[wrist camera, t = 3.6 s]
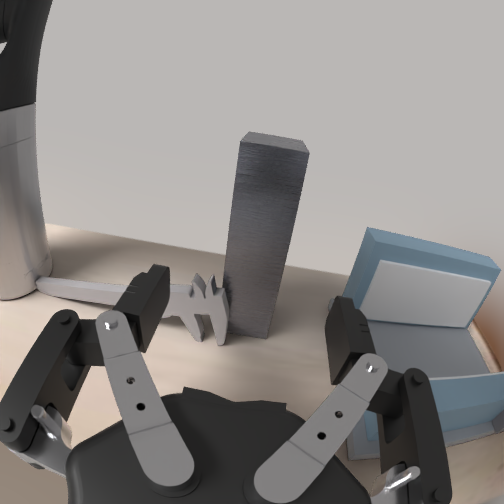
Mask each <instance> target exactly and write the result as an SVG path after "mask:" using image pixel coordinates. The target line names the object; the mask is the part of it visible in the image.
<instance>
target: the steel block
mask: <svg viewBox="0 0 504 504" xmlns="http://www.w3.org/2000/svg"><path fill="white" fill-rule="evenodd" d="M308 158H309V151H308V149H307V148H306V146H305V144H304V143H303V141H301V140H296V139H290V138H285V137H279V136H274V135H268V134H261V133H255V132H248V133H247V134H246V135H245V136H244V138H243V139H242V140H241V141H240V147H239V154H238V162H237V170H236V177H235V184H234V192H233V200H232V209H231V216H230V224H229V233H228V241H227V250H226V259H225V267H224V277H223V286H222V288H225V292H226V297H227V301H228V305H229V310H230V311H229V320H228V328H227V333H232V334H238V335H244V336H250V337H256V338H263V339H266V337H267V333H268V330H269V326H270V322H271V318H272V314H273V310H274V306H275V302H276V298H277V294H278V290H279V286H280V282H281V278H282V274H283V270H284V266H285V262H286V257H287V253H288V249H289V245H290V240H291V236H292V232H293V227H294V223H295V218H296V214H297V210H298V205H299V200H300V196H301V191H302V187H303V182H304V177H305V173H306V168H307V163H308Z"/></svg>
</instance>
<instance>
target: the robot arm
mask: <svg viewBox="0 0 504 504" xmlns="http://www.w3.org/2000/svg"><path fill="white" fill-rule="evenodd" d="M52 1H53V0H0V43H4V42H7V44H6V46H5V48H4V50H3V51H2V53H1V54H0V299H1V300H8V299H14V298H18V297H21V296H24V295H26V294H28V293H30V292H32V291H33V290H35V289H36V281H37V280H38V279H39V278H40V277H41V276H43V277H49V275H50V273H51V271H52V267H53V264H52V259H51V254H50V250H49V245H48V240H47V235H46V229H45V223H44V217H43V212H42V204H41V197H40V189H39V180H38V169H37V157H36V156H37V155H36V130H35V113H36V111H35V110H36V109H35V108H36V104H35V103H34V102H36V87H37V74H38V64H39V56H40V49H41V44H42V39H43V34H44V30H45V25H46V22H47V18H48V15H49V11H50V8H51V4H52ZM169 298H170V269H169V267H167V266H162V265H157V264H153V265H152V267H151V268H150V270H149V271H148V273H144V272H142V273H140V274H138V275H137V276H135V277H134V278H133V280H132V281H131V283H130V284H129V286H128V287H127V288H126V291H124V293H123V294H122V296H121V297H120V299H119V300H118V302H117V303H116V305H115V306H114V308H113V309H112V310H111V311H106V312H104V313H102V314H100V315H99V316H98V317H97V319H93V320H92V319H79V317H78V314H77V313H76V312H75V311H73V310H69V309H64V310H60V311H58V312H56V313H55V314H54V315H53V316H52V318H51V319H50V320H49V322H48V323H47V325H46V326H45V328H44V329H43V331H42V332H41V334H40V335H39V337H38V338H37V340H36V342H35V343H34V345H33V346H32V348H31V349H30V351H29V353H28V354H27V356H26V358H25V359H24V361H23V363H22V364H21V366H20V368H19V369H18V371H17V373H16V374H15V376H14V378H13V380H12V382H11V383H10V385H9V387H8V389H7V391H6V393H5V395H4V396H3V398H2V400H1V402H0V441H1V442H2V443H4V444H5V445H6V446H7V448H8V449H9V450H11V451H12V452H13V453H14V454H16V455H17V456H18V457H20V458H21V459H22V460H24V461H25V462H27V463H29V464H30V465H32V466H33V467H35V468H37V469H45V468H46V469H48V470H50V471H52V472H54V473H56V474H58V475H60V476H63V477H65V478H66V480H67V485H68V504H449V503H450V501H451V499H452V487H451V479H450V472H449V466H448V460H447V454H446V448H445V443H444V438H443V433H442V429H441V424H440V420H439V415H438V411H437V407H436V403H435V399H434V396H433V392H432V388H431V385H430V381H429V378H428V376H427V375H426V374H425V373H424V372H423V371H422V370H420V369H417V368H409V369H407V370H406V371H405V373H404V374H403V373H399V372H396V371H393V370H391V369H388V366H387V364H386V362H385V361H384V360H383V359H382V358H381V357H380V356H378V355H377V354H376V350H375V347H374V343H373V339H372V336H371V333H370V329H369V327H368V322H367V319H366V316H365V315H364V314H363V313H362V311H361V310H360V309H355V306H354V302H353V299H352V298H349V297H342V296H336V298H335V300H334V302H333V305H332V307H331V310H330V312H329V315H328V317H327V320H326V324H325V336H326V344H327V351H328V360H329V368H330V377H331V385H337V386H336V388H335V389H334V390H333V391H332V393H331V394H330V395H329V396H328V397H327V398H326V400H325V401H324V402H323V403H322V404H321V405H320V407H319V408H318V409H317V410H316V411H315V412H314V413H313V415H312V416H311V417H310V418H309V419H308V420H307V421H305V420H304V419H302V418H301V417H299V416H298V415H296V414H294V413H292V412H290V411H287V410H286V403H279V402H270V401H262V400H260V401H247V402H233V401H230V400H227V399H225V398H222V397H220V396H218V395H215V394H213V393H211V392H207V391H202V390H198V389H193V388H188V387H184V388H183V392H182V393H176V394H169V395H165V396H162V397H160V396H159V394H158V392H157V389H156V387H155V385H154V383H153V380H152V378H151V376H150V373H149V371H148V369H147V366H146V364H145V361H144V359H143V357H142V354H141V352H143V353H146V350H147V348H148V346H149V344H150V342H151V339H152V337H153V335H154V333H155V331H156V329H157V326H158V324H159V322H160V320H161V318H162V316H163V314H164V311H165V309H166V307H167V305H168V302H169ZM91 366H105V367H106V371H107V374H108V378H109V381H110V384H111V387H112V391H113V394H114V397H115V400H116V403H117V406H118V408H119V411H120V414H121V417H122V420H120V421H118V422H117V423H115V424H113V425H111V426H110V427H108V428H106V429H104V430H103V431H101V432H99V433H97V434H95V435H94V436H92V437H90V438H88V439H86V440H84V441H83V442H81V443H79V444H78V445H76V446H75V447H74V448H73V449H72V447H71V439H72V431H71V428H70V426H69V425H68V423H67V420H68V418H69V415H70V413H71V411H72V408H73V406H74V403H75V401H76V399H77V396H78V394H79V392H80V389H81V387H82V385H83V383H84V380H85V378H86V376H87V374H88V372H89V370H90V367H91ZM366 410H367V411H371V412H374V413H376V416H377V425H378V435H379V447H380V460H381V475H379V476H378V477H377V478H376V479H375V481H374V483H373V487H372V492H371V494H370V496H369V494H368V492H367V490H366V489H365V488H364V487H363V486H362V485H361V484H360V482H359V481H358V480H357V479H356V478H355V477H354V476H353V475H352V474H351V473H350V471H349V470H348V469H347V468H346V467H345V466H344V465H343V464H342V462H341V461H340V460H339V459H338V458H337V457H336V456H335V453H336V451H337V450H338V449H339V447H340V446H341V445H342V443H343V442H344V441H345V439H346V438H347V437H348V435H349V434H350V432H351V431H352V430H353V428H354V427H355V425H356V424H357V422H358V421H359V420H360V418H361V417H362V415H363V414H364V412H365V411H366Z"/></svg>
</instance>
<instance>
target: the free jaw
mask: <svg viewBox="0 0 504 504" xmlns="http://www.w3.org/2000/svg"><path fill="white" fill-rule="evenodd" d="M429 381H430V385H431V388H432V392H433V396H434V399H435V403H436V407H437V411H438V415H439V420H440V424H441V429H442V432H446V431H451V430H456V429H461V428H465V427H469V426H474V425H478V424H481V423H485V422H489V421H492V424H493V427H494V429H495V432H496V434H498V433H501V432H503V431H504V372H497V373H489V374H479V375H469V376H456V377H438V378H429ZM364 419H365V426H366V433H367V440H368V441H376V440H379V435H378V425H377V416H376V413H374V412H371V411H367V410H366V411H365V412H364Z"/></svg>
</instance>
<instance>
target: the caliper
mask: <svg viewBox="0 0 504 504" xmlns="http://www.w3.org/2000/svg"><path fill="white" fill-rule="evenodd" d="M192 285H193V286H192ZM192 285H179V284H170V298H169V302H168V305H167V307H166V309H165V311H164V314H163V316H162V318H166V317H171V315H173V316H180V318H181V320H182V321H183V323H184V324H185V326H186V327H187V329H188V330H189V332H190V333H191V335H192V336H193V338H194V339H195V340H196V341H199V342H202V340H203V337H204V334H205V333H204V330H203V329H204V326H203V322H202V319H201V315H200V314H203V315H210V318H211V322H212V326H213V329H214V333H215V336H216V340H217V345H223V344H224V342H225V338H226V334H227V328H228V320H229V311H230V310H229V305H228V301H227V297H226V292H225V288H217V287H216V282H215V276H214V274H213V275H212V276H211V277H210V279H209V282H208V284H207V286H206V284H205V282H204V281H203V279H202V278H201V277H200V276H199V275H198V274H196V275H195V277H194V279H193V281H192ZM127 287H128V286H127V285H116V284H106V283H96V282H87V281H77V280H69V279H60V278H51V277H43V276H41V277H40V278H39V279H38V280H37V281H36V289H39V291H40V292H42V293H45V294H47V295H51V296H56V297H62V298H69V299H75V300H82V301H88V302H95V303H102V304H109V305H116V303H117V302H118V300H119V299H120V297H121V296H122V294H123V293H124V291H126V288H127Z"/></svg>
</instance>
